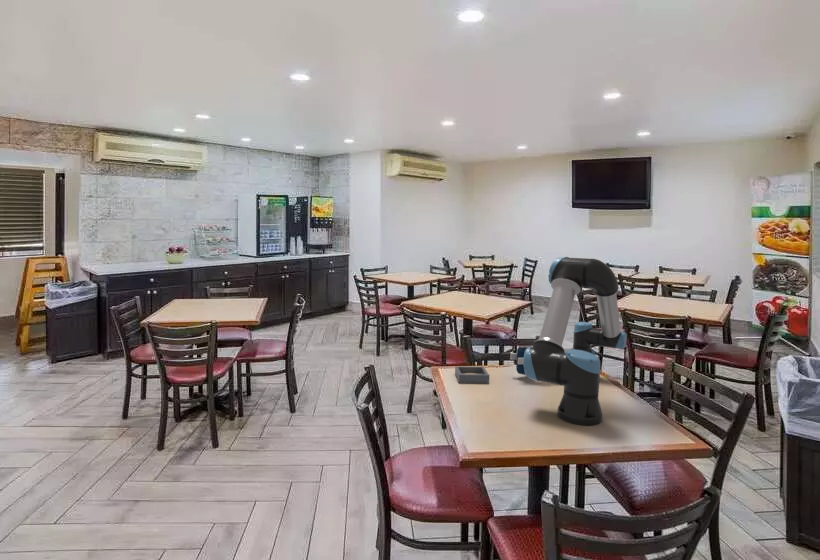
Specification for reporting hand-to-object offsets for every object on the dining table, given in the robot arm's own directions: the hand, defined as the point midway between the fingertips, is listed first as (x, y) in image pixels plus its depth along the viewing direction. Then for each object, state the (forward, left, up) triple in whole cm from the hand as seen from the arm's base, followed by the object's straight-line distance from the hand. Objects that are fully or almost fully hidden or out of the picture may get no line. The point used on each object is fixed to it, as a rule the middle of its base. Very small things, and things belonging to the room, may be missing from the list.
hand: (514, 358), depth 220 cm
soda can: (+4, -3, -7) cm, 8 cm away
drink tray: (-11, +15, -9) cm, 21 cm away
